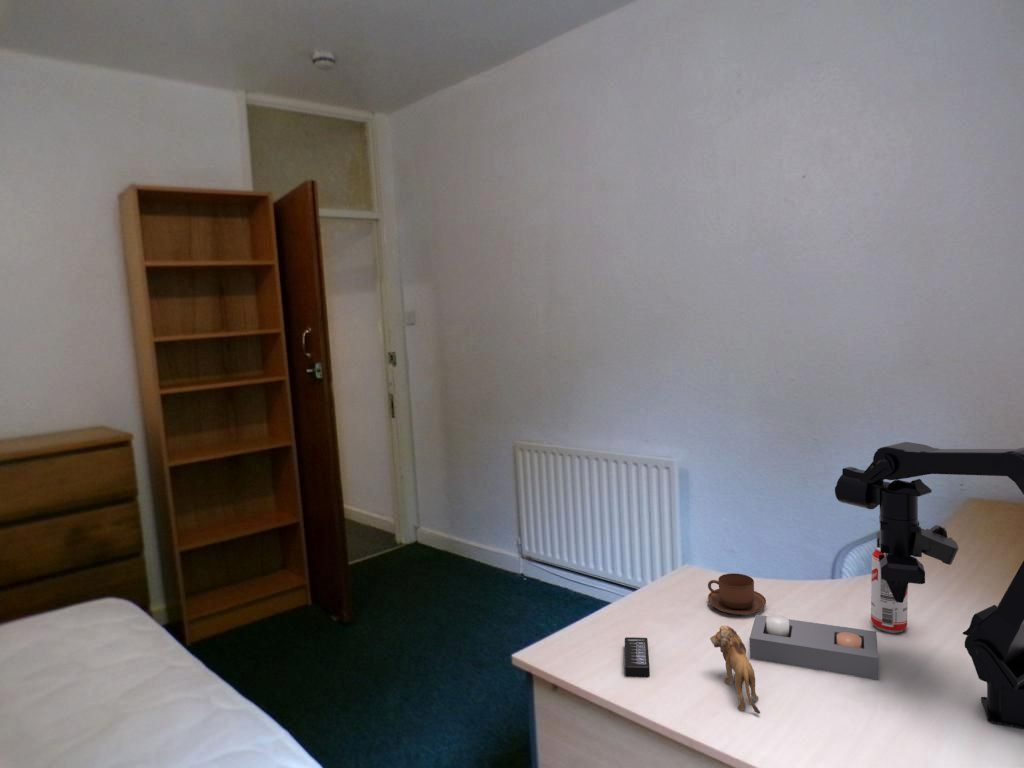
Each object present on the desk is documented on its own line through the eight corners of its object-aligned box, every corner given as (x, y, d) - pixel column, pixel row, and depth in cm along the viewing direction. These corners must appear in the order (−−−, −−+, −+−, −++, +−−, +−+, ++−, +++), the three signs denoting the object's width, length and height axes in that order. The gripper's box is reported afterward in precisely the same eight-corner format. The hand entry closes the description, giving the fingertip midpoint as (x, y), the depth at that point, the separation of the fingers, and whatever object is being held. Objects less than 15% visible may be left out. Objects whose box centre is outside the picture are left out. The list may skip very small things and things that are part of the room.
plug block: (878, 680, 113) (878, 658, 112) (750, 658, 122) (749, 637, 122) (876, 651, 122) (876, 631, 121) (756, 633, 131) (755, 614, 131)
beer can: (869, 630, 129) (871, 551, 127) (871, 617, 134) (872, 541, 133) (907, 637, 126) (908, 556, 124) (907, 623, 131) (908, 546, 130)
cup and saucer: (709, 618, 139) (708, 590, 139) (707, 594, 151) (706, 568, 150) (770, 621, 136) (769, 592, 136) (762, 596, 148) (761, 569, 147)
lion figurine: (708, 670, 119) (707, 623, 118) (737, 667, 120) (735, 620, 119) (744, 719, 105) (742, 665, 104) (776, 715, 105) (775, 662, 104)
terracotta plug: (861, 663, 116) (861, 644, 116) (836, 659, 118) (836, 640, 118) (861, 652, 120) (861, 634, 120) (837, 648, 122) (836, 630, 121)
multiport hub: (625, 678, 119) (624, 666, 119) (625, 648, 130) (624, 636, 130) (650, 679, 118) (649, 667, 118) (647, 648, 129) (647, 637, 129)
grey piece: (788, 643, 122) (788, 625, 121) (765, 640, 123) (765, 622, 123) (790, 633, 125) (789, 616, 125) (767, 630, 127) (767, 613, 127)
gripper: (963, 537, 102) (962, 633, 103) (946, 503, 118) (946, 586, 120) (880, 531, 107) (881, 622, 108) (876, 499, 123) (876, 579, 125)
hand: (899, 601), depth 115 cm, fingers closed
